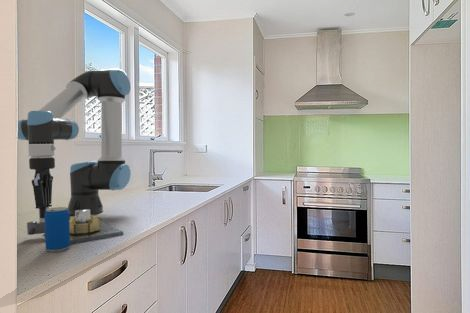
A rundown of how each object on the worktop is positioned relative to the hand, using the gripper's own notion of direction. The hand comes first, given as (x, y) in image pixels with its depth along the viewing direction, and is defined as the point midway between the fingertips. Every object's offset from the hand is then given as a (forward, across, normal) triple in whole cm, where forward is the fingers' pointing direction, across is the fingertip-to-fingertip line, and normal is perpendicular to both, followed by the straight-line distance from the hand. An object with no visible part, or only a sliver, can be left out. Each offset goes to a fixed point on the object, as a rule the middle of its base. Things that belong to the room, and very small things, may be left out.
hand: (44, 226), depth 118 cm
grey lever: (+2, -1, -7) cm, 7 cm away
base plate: (+3, 0, -12) cm, 13 cm away
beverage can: (+3, -17, -9) cm, 20 cm away
